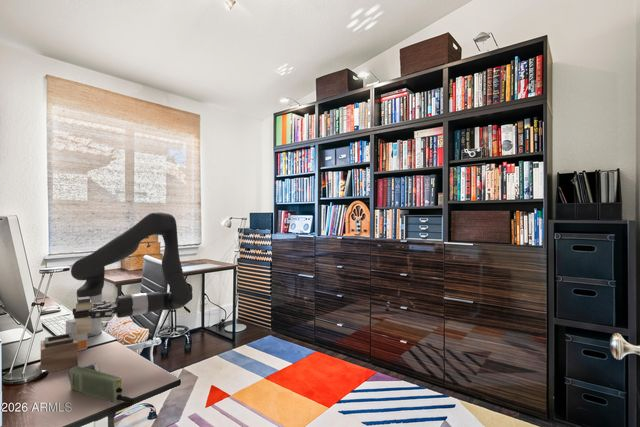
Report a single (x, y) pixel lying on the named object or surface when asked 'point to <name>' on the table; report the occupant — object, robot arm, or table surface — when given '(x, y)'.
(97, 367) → the low socket
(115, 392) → the handheld radio
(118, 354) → the table surface
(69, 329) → the skincare box
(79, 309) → the beech plug
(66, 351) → the walnut dock
